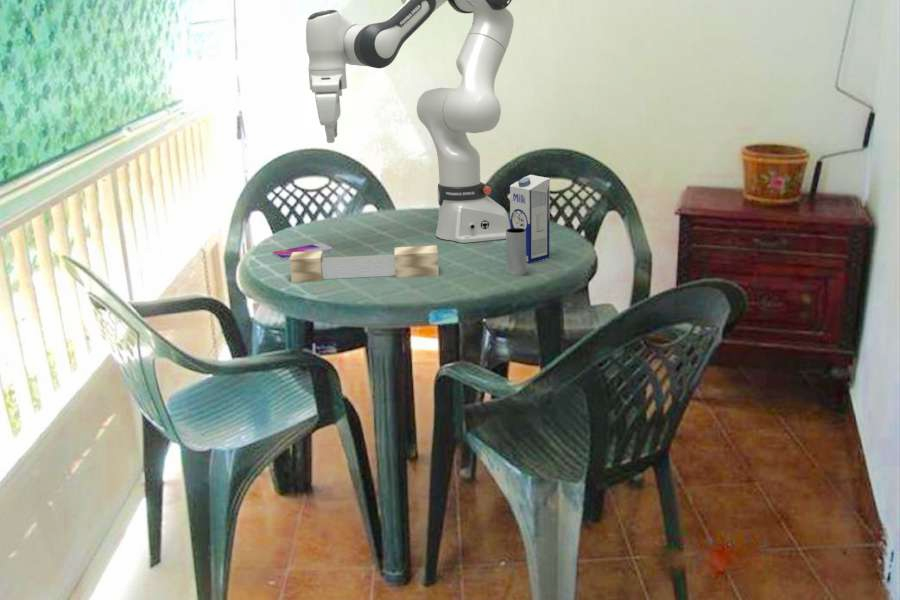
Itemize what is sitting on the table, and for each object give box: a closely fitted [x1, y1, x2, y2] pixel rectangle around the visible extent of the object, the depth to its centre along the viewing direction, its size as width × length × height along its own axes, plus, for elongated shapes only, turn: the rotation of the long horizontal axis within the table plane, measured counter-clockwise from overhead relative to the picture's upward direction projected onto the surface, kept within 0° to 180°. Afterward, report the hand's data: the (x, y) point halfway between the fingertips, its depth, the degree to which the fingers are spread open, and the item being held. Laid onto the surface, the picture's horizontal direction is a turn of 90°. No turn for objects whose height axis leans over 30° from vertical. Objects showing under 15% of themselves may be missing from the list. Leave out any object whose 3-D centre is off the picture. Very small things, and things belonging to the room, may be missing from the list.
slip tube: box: [321, 254, 396, 280], centre depth 197 cm, size 26×4×4 cm, turn 94°
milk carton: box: [509, 174, 551, 264], centre depth 204 cm, size 7×7×20 cm
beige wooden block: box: [288, 251, 324, 283], centre depth 196 cm, size 7×6×6 cm
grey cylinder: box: [505, 228, 527, 276], centre depth 194 cm, size 4×4×10 cm
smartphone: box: [272, 242, 336, 260], centre depth 219 cm, size 7×1×15 cm
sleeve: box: [393, 245, 440, 278], centre depth 197 cm, size 10×6×6 cm, turn 94°
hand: (332, 139), depth 206 cm, fingers open, 8 cm apart
